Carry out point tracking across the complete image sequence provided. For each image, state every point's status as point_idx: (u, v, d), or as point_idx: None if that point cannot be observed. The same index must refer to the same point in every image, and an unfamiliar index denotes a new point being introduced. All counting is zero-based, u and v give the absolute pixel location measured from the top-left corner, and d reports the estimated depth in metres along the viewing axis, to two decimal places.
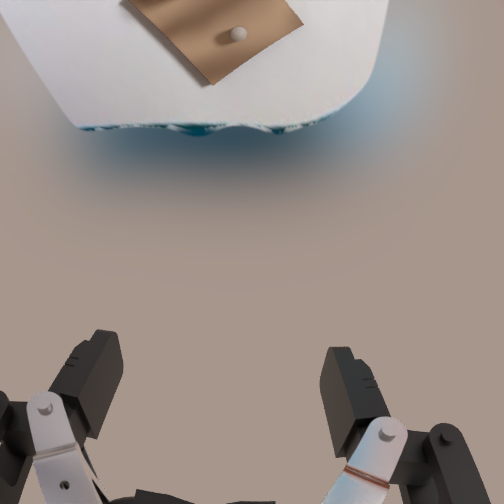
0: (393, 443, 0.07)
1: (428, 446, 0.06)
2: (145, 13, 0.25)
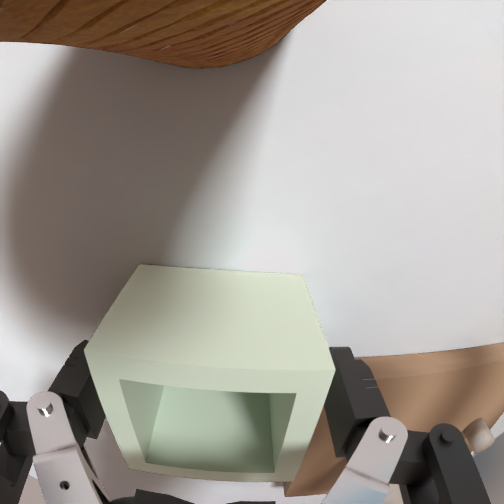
0: (393, 443, 0.07)
1: (428, 446, 0.06)
2: None
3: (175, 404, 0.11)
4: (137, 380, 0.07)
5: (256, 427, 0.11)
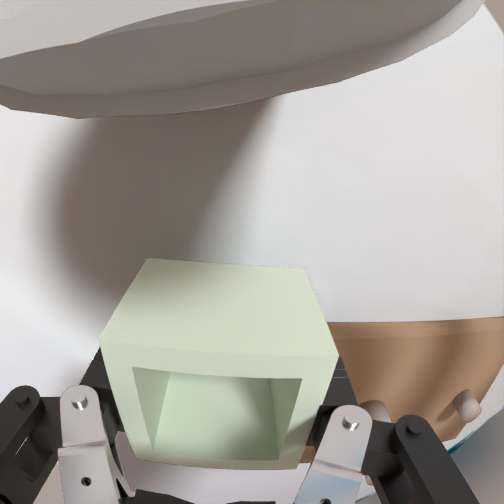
0: (356, 431, 0.07)
1: (395, 440, 0.07)
2: None
3: (181, 395, 0.12)
4: (150, 367, 0.07)
5: (260, 416, 0.11)
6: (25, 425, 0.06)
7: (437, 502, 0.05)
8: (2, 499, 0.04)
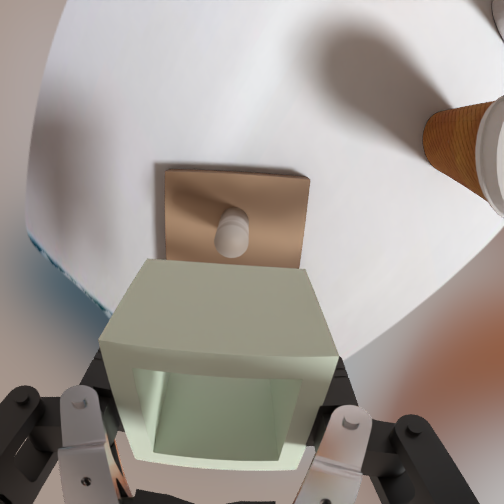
0: (356, 431, 0.07)
1: (396, 440, 0.07)
2: (167, 209, 0.26)
3: (181, 395, 0.12)
4: (150, 368, 0.07)
5: (260, 417, 0.11)
6: (25, 425, 0.06)
7: (437, 502, 0.05)
8: (2, 499, 0.04)
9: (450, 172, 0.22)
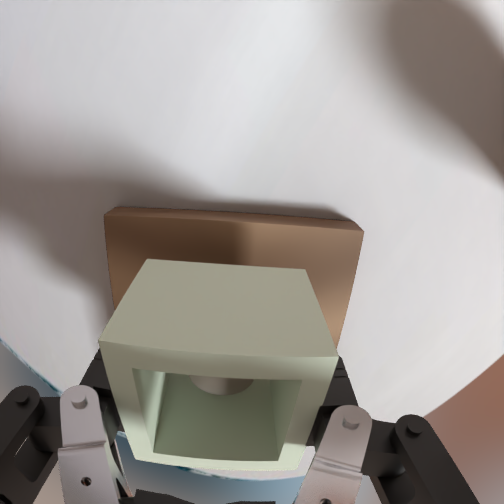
0: (356, 431, 0.07)
1: (395, 440, 0.07)
2: (113, 279, 0.15)
3: (181, 395, 0.12)
4: (150, 369, 0.07)
5: (259, 417, 0.11)
6: (25, 425, 0.06)
7: (437, 502, 0.05)
8: (2, 499, 0.04)
9: None
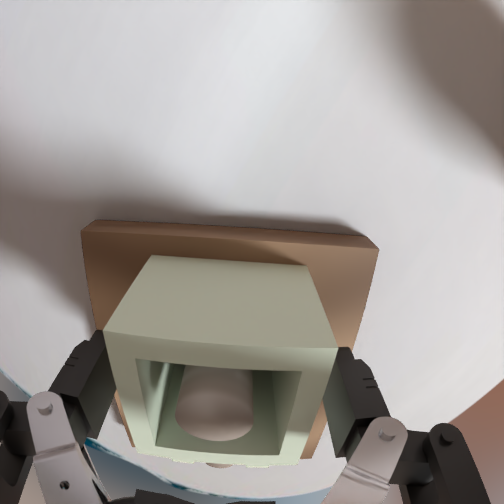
0: (393, 443, 0.07)
1: (428, 446, 0.06)
2: (94, 301, 0.13)
3: None
4: (153, 359, 0.08)
5: (261, 412, 0.11)
6: None
7: None
8: None
9: None
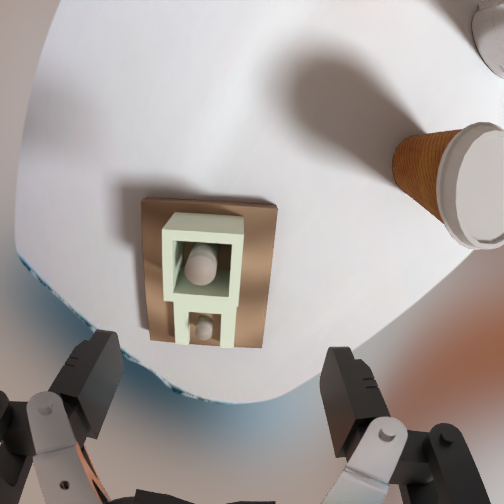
0: (393, 443, 0.07)
1: (428, 446, 0.06)
2: (144, 236, 0.28)
3: None
4: (179, 240, 0.23)
5: (222, 284, 0.27)
6: None
7: None
8: None
9: (416, 199, 0.24)
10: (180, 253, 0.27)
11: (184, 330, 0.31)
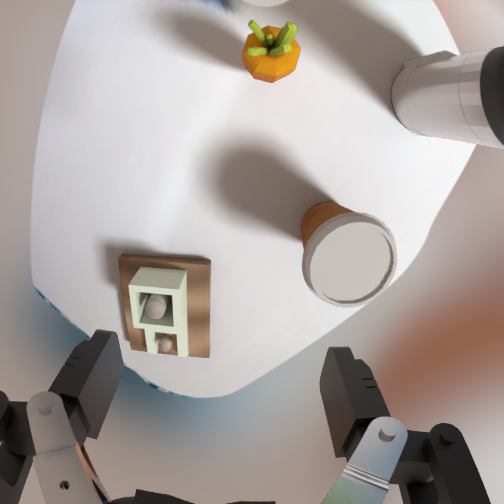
0: (393, 443, 0.07)
1: (428, 446, 0.06)
2: (122, 281, 0.40)
3: None
4: (139, 291, 0.35)
5: (172, 316, 0.38)
6: None
7: None
8: None
9: None
10: (145, 294, 0.39)
11: (152, 344, 0.42)
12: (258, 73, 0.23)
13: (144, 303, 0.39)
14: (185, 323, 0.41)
